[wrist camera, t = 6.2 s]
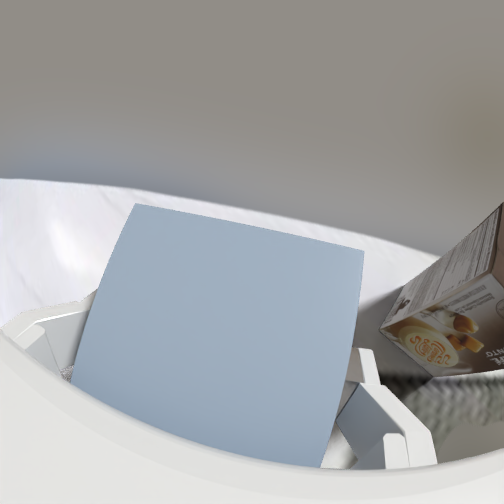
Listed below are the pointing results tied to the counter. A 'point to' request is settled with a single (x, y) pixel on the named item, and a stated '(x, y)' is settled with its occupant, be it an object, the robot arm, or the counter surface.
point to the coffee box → (456, 307)
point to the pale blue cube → (223, 333)
